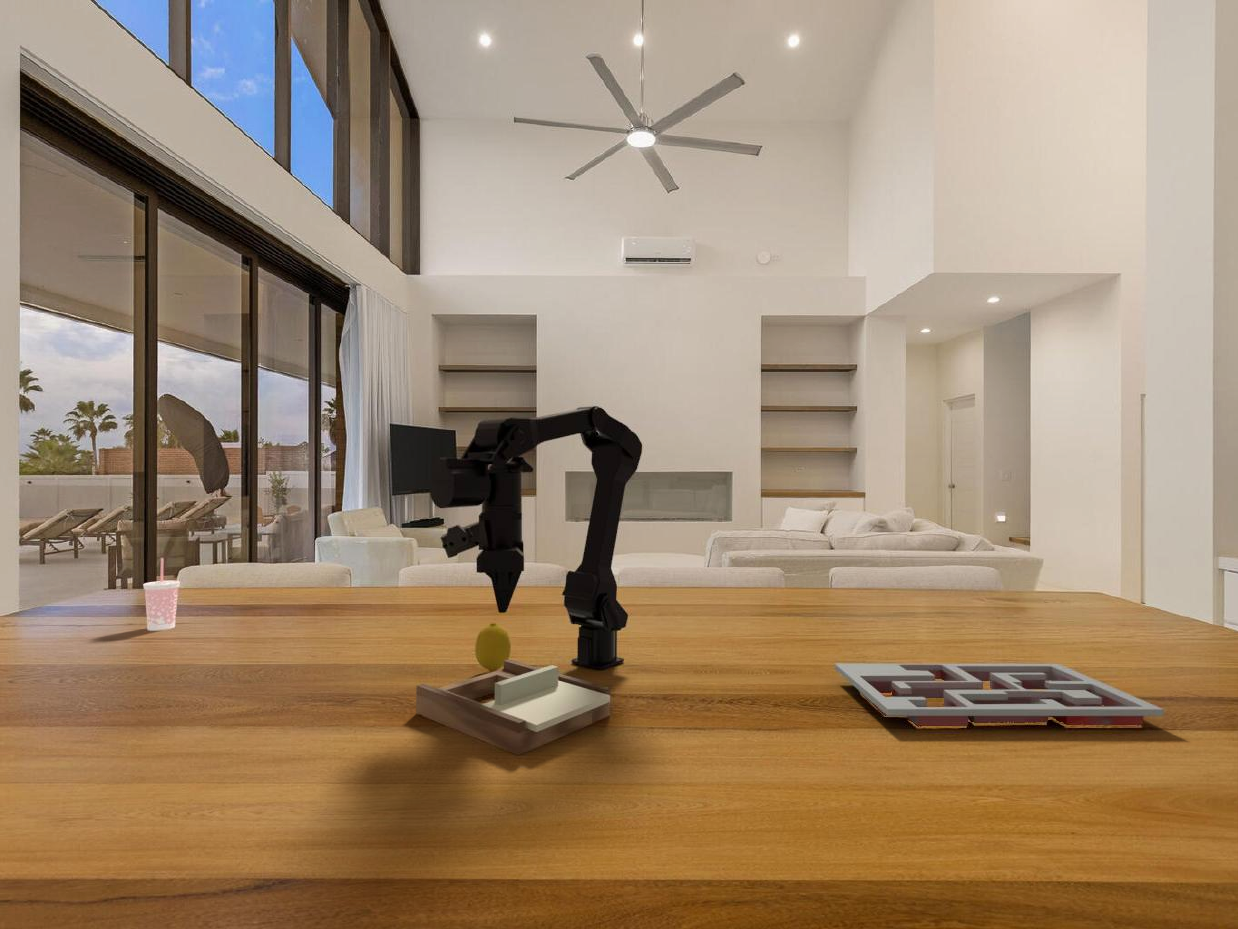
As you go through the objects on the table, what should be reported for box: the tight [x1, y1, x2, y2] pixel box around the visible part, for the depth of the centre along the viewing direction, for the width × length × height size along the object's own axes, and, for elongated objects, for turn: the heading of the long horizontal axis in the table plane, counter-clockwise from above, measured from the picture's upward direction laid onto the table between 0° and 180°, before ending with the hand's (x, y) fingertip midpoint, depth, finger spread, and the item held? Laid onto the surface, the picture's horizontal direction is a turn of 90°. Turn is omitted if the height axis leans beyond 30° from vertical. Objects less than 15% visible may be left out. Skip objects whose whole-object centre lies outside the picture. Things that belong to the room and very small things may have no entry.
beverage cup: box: [142, 557, 181, 632], centre depth 134 cm, size 6×6×14 cm
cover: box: [481, 664, 611, 732], centre depth 84 cm, size 13×10×3 cm
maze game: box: [833, 662, 1165, 727], centre depth 94 cm, size 35×20×3 cm, turn 91°
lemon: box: [474, 622, 512, 673], centre depth 106 cm, size 6×6×8 cm
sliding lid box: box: [415, 658, 611, 757], centre depth 88 cm, size 16×20×4 cm
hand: (502, 612), depth 97 cm, fingers closed
